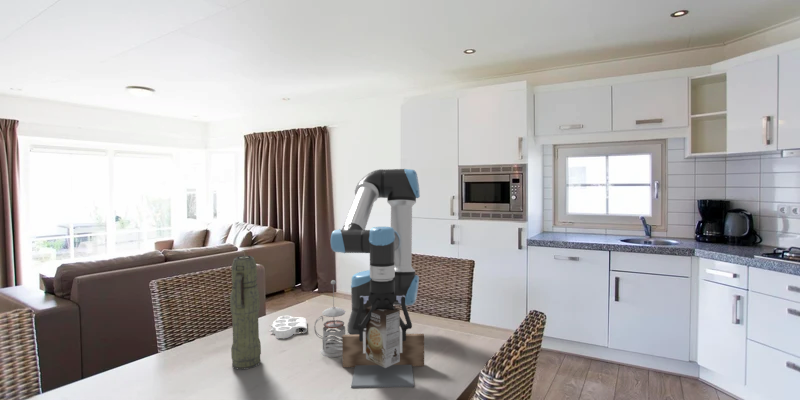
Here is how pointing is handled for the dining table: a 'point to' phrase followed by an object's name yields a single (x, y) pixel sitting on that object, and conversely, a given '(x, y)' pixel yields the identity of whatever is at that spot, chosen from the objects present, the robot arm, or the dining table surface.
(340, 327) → the french press
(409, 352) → the walnut board
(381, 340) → the coffee box
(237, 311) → the green canvas bag
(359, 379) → the grey mat
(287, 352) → the dining table surface
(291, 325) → the white flat lobed piece
